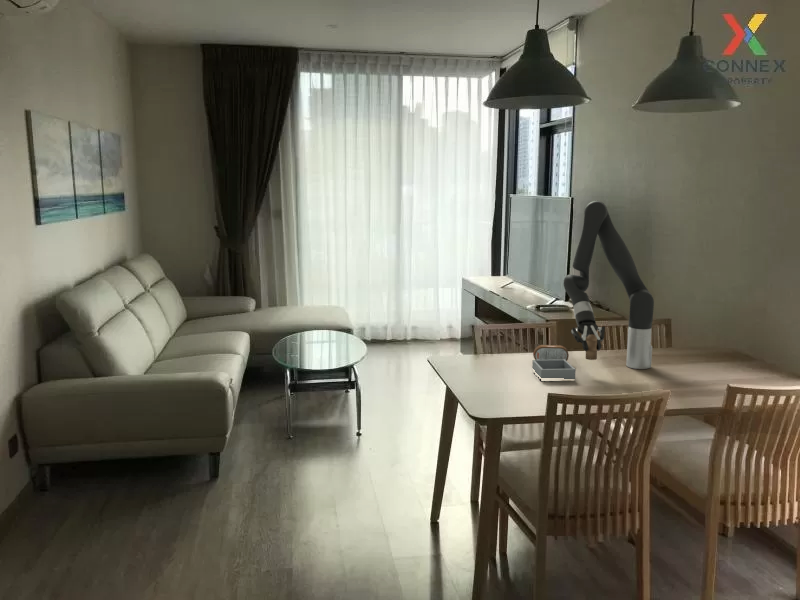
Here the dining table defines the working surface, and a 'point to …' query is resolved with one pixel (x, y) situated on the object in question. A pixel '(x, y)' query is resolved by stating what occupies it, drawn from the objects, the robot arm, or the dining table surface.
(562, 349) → the tin
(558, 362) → the bin
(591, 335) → the pepper mill
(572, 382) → the dining table surface
